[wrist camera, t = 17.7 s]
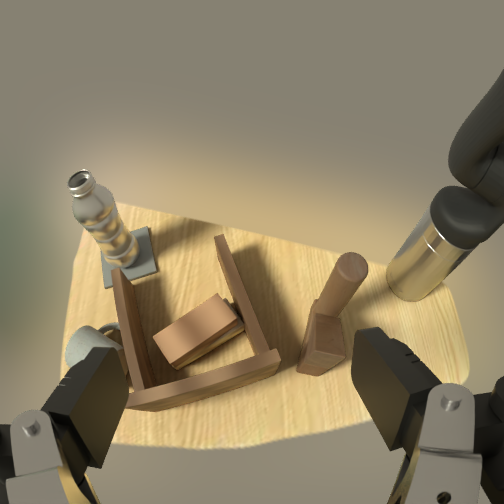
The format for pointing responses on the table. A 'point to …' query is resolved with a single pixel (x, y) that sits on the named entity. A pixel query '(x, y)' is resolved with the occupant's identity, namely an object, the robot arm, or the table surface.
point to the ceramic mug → (92, 344)
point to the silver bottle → (102, 219)
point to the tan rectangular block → (199, 331)
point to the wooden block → (330, 316)
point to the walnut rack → (196, 386)
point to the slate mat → (140, 266)
